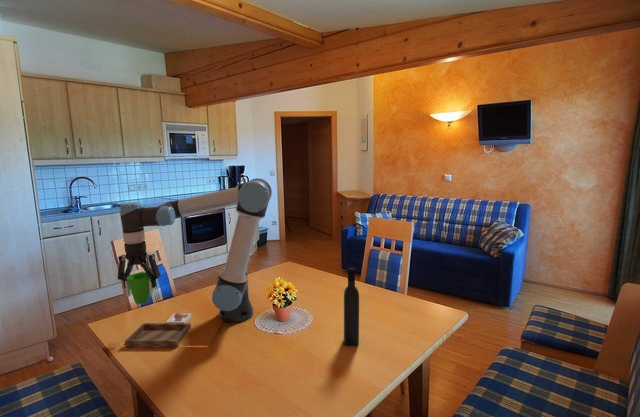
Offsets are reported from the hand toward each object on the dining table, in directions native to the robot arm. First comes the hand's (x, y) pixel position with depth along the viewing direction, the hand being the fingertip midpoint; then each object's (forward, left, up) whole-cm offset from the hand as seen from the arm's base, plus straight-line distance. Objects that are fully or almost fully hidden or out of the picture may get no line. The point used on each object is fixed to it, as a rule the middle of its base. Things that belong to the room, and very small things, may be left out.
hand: (141, 295), depth 141 cm
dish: (-10, -10, -17) cm, 22 cm away
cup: (0, 0, -3) cm, 3 cm away
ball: (-10, -10, -16) cm, 22 cm away
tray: (-8, +4, -17) cm, 19 cm away
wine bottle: (-85, +7, -17) cm, 87 cm away
